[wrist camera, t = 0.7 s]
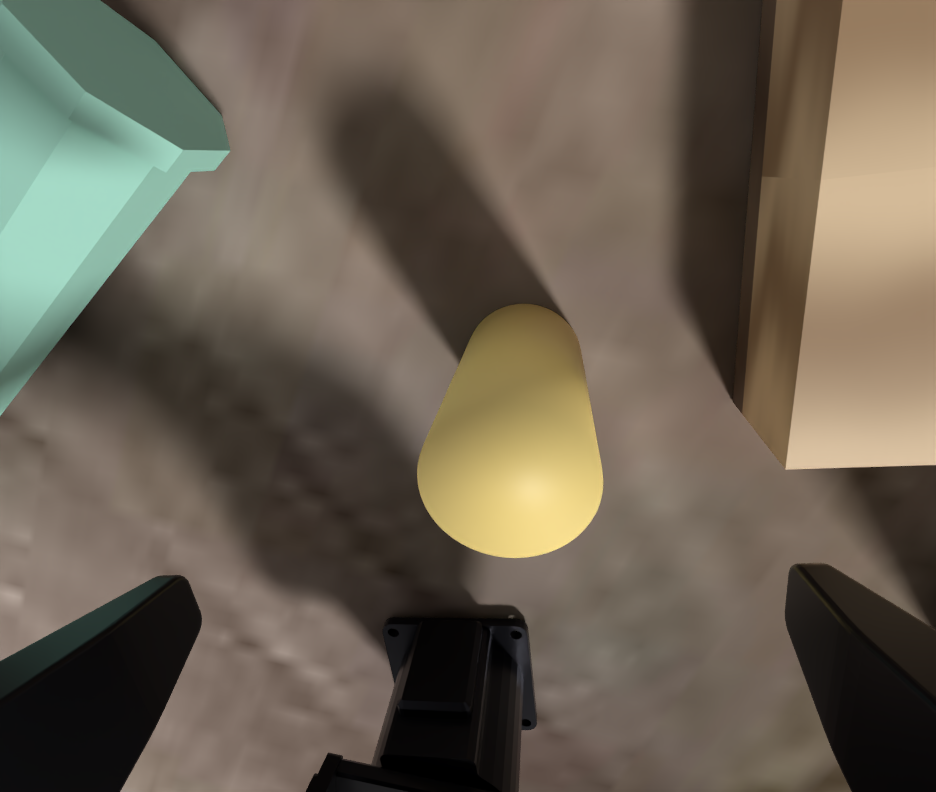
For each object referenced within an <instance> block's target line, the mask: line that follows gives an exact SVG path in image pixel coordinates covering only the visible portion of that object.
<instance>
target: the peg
mask: <svg viewBox="0 0 936 792" xmlns="http://www.w3.org/2000/svg"><path fill="white" fill-rule="evenodd" d="M417 480H418V488H419V491H420V495H421V498H422V500H423V503H424V505H425V507H426V509H427V511H428V512H429V514H430V516H431V517H432V518H433V520H434V521H435V522H436V523H437V524H438V525H439V526H440V528H441V529H442V530H443V531H445V532H446V533H447V534H448V535H449V536H451V537H452V538H453V539H455V540H456V541H458V542H460V543H461V544H463V545H465V546H467V547H469V548H471V549H473V550H476V551H479V552H481V553H485V554H489V555H492V556H499V557H507V558H523V557H532V556H538V555H541V554H545V553H549V552H551V551H554V550H556V549H558V548H560V547H562V546H564V545H566V544H567V543H569V542H570V541H572V540H573V539H575V538H576V537H577V536H578V535H579V534H580V533H581V532H582V531H583V530H584V529H585V528H586V527H587V526H588V525H589V523H590V522H591V521H592V519H593V517H594V515H595V514H596V512H597V509H598V507H599V504H600V502H601V497H602V492H603V474H602V466H601V461H600V455H599V450H598V444H597V438H596V433H595V427H594V422H593V416H592V410H591V405H590V399H589V393H588V388H587V382H586V377H585V371H584V365H583V360H582V354H581V349H580V345H579V341H578V339H577V336H576V334H575V333H574V331H573V329H572V328H571V326H570V325H569V324H568V323H567V322H566V321H565V320H564V319H563V318H562V317H561V316H559V315H558V314H557V313H555V312H553V311H551V310H550V309H547V308H545V307H542V306H538V305H533V304H515V305H509V306H506V307H503V308H500V309H498V310H496V311H494V312H493V313H491V314H489V315H488V316H487V317H486V318H484V319H483V320H482V321H481V322H480V324H479V325H478V326H477V327H476V329H475V330H474V332H473V334H472V336H471V338H470V340H469V343H468V345H467V347H466V349H465V352H464V354H463V356H462V358H461V361H460V363H459V365H458V368H457V370H456V372H455V374H454V377H453V379H452V381H451V383H450V386H449V388H448V390H447V393H446V395H445V397H444V399H443V402H442V404H441V406H440V408H439V411H438V413H437V415H436V417H435V420H434V422H433V424H432V427H431V429H430V431H429V433H428V436H427V438H426V440H425V442H424V445H423V447H422V450H421V453H420V455H419V461H418V466H417Z"/></svg>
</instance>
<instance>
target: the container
mask: <svg viewBox="0 0 936 792" xmlns="http://www.w3.org/2000/svg"><path fill="white" fill-rule="evenodd" d="M229 152H230V147H229V143H228V139H227V135H226V131H225V127H224V123H223V119H222V115H221V114H220V113H219V112H218V111H217V110H216V109H215V107H214V106H213V105H212V104H211V103H210V102H209V101H208V100H207V98H206V97H205V96H204V95H203V94H202V93H201V92H200V91H199V89H198V88H197V87H196V86H195V85H194V84H193V83H192V82H191V81H190V79H189V78H188V77H187V76H186V75H185V74H184V73H183V72H182V70H181V69H180V68H179V67H178V66H177V65H176V64H175V63H174V61H173V60H172V59H171V58H170V57H169V56H168V55H167V54H166V53H165V51H164V50H163V49H162V48H161V47H160V46H159V45H158V44H157V42H156V41H155V40H153V39H152V38H151V37H149V36H148V35H147V34H145V33H144V32H143V31H141V30H140V29H138V28H137V27H136V26H134V25H133V24H132V23H130V22H129V21H128V20H126V19H125V18H124V17H122V16H121V15H119V14H118V13H117V12H115V11H114V10H113V9H111V8H110V7H109V6H107V5H106V4H104V3H103V2H102V1H100V0H0V415H1V414H2V413H3V412H4V410H5V409H6V408H7V406H8V405H9V404H10V403H11V401H12V400H13V399H14V397H15V396H16V395H17V394H18V392H19V391H20V390H21V389H22V387H23V386H24V385H25V383H26V382H27V381H28V380H29V378H30V377H31V376H32V374H33V373H34V372H35V371H36V369H37V368H38V367H39V365H40V364H41V363H42V362H43V360H44V359H45V358H46V356H47V355H48V354H49V353H50V351H51V350H52V349H53V348H54V346H55V345H56V344H57V342H58V341H59V340H60V339H61V337H62V336H63V335H64V333H65V332H66V331H67V330H68V328H69V327H70V326H71V324H72V323H73V322H74V321H75V319H76V318H77V317H78V316H79V314H80V313H81V312H82V310H83V309H84V308H85V307H86V305H87V304H88V303H89V301H90V300H91V299H92V298H93V296H94V295H95V294H96V292H97V291H98V290H99V289H100V287H101V286H102V285H103V283H104V282H105V281H106V280H107V278H108V277H109V276H110V275H111V273H112V272H113V271H114V269H115V268H116V267H117V266H118V264H119V263H120V262H121V260H122V259H123V258H124V257H125V255H126V254H127V253H128V251H129V250H130V249H131V248H132V246H133V245H134V244H135V243H136V241H137V240H138V239H139V237H140V236H141V235H142V234H143V232H144V231H145V230H146V228H147V227H148V226H149V225H150V223H151V222H152V221H153V219H154V218H155V217H156V216H157V214H158V213H159V212H160V210H161V209H162V208H163V207H164V205H165V204H166V203H167V202H168V200H169V199H170V198H171V196H172V195H173V194H174V193H175V191H176V190H177V189H178V187H179V186H180V185H181V184H182V182H183V181H184V180H185V178H186V177H187V176H188V175H189V173H190V172H198V171H215V169H216V168H217V167H218V166H219V164H220V163H221V162H222V161H223V159H224V158H225V157H226V156H227V154H228V153H229Z"/></svg>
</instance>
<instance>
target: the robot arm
mask: <svg viewBox="0 0 936 792" xmlns="http://www.w3.org/2000/svg"><path fill="white" fill-rule="evenodd" d="M785 621H786V626H787V630H788V633H789V635H790V638H791V641H792V644H793V646H794V649H795V652H796V654H797V657H798V660H799V663H800V665H801V668H802V671H803V674H804V676H805V679H806V682H807V684H808V687H809V690H810V693H811V695H812V698H813V701H814V704H815V706H816V709H817V712H818V714H819V717H820V720H821V723H822V725H823V728H824V731H825V733H826V736H827V738H828V741H829V743H830V746H831V749H832V751H833V753H834V755H835V757H836V760H837V762H838V764H839V766H840V768H841V771H842V773H843V775H844V777H845V779H846V781H847V783H848V785H849V787H850V789H851V791H852V792H936V629H934V628H932V627H931V626H929V625H927V624H926V623H924V622H922V621H921V620H919V619H917V618H916V617H914V616H913V615H911V614H909V613H908V612H906V611H904V610H903V609H901V608H899V607H898V606H896V605H894V604H893V603H891V602H890V601H888V600H886V599H885V598H883V597H881V596H880V595H878V594H876V593H875V592H873V591H871V590H870V589H868V588H866V587H865V586H863V585H862V584H860V583H858V582H857V581H855V580H853V579H852V578H850V577H848V576H847V575H845V574H843V573H842V572H840V571H839V570H837V569H835V568H834V567H832V566H830V565H828V564H824V563H801V564H795V565H793V566H792V567H791V568H790V571H789V575H788V585H787V595H786V605H785ZM201 624H202V616H201V612H200V609H199V607H198V604H197V602H196V599H195V597H194V594H193V591H192V589H191V586H190V584H189V582H188V580H187V579H186V578H185V577H184V576H181V575H163V576H157V577H155V578H153V579H151V580H149V581H147V582H145V583H143V584H142V585H140V586H138V587H136V588H134V589H132V590H130V591H129V592H127V593H125V594H123V595H121V596H119V597H118V598H116V599H114V600H112V601H110V602H108V603H107V604H105V605H103V606H101V607H99V608H97V609H96V610H94V611H92V612H90V613H88V614H86V615H84V616H83V617H81V618H79V619H77V620H75V621H73V622H72V623H70V624H68V625H66V626H64V627H62V628H61V629H59V630H57V631H55V632H53V633H51V634H49V635H48V636H46V637H44V638H42V639H40V640H38V641H37V642H35V643H33V644H31V645H29V646H27V647H26V648H24V649H22V650H20V651H18V652H16V653H15V654H13V655H11V656H9V657H7V658H5V659H3V660H2V661H0V792H120V791H121V789H122V787H123V786H124V784H125V782H126V780H127V778H128V777H129V775H130V773H131V771H132V769H133V768H134V766H135V764H136V762H137V760H138V759H139V757H140V755H141V753H142V751H143V750H144V748H145V746H146V744H147V742H148V741H149V739H150V737H151V735H152V733H153V731H154V729H155V727H156V725H157V723H158V721H159V719H160V717H161V715H162V713H163V711H164V709H165V706H166V704H167V702H168V700H169V698H170V695H171V693H172V691H173V689H174V687H175V684H176V682H177V680H178V678H179V676H180V673H181V671H182V669H183V667H184V665H185V662H186V660H187V658H188V656H189V654H190V651H191V649H192V647H193V645H194V643H195V640H196V638H197V636H198V634H199V631H200V628H201ZM392 628H393V629H392ZM394 629H396V630H394ZM514 631H519V632H514ZM383 636H384V640H385V644H386V649H387V653H388V657H389V661H390V665H391V670H392V674H393V678H394V682H395V685H394V689H393V692H392V696H391V699H390V702H389V706H388V709H387V713H386V716H385V720H384V723H383V726H382V730H381V733H380V737H379V740H378V743H377V747H376V750H375V754H374V757H373V760H372V764H371V765H370V764H365V763H361V762H356V761H351V760H347V759H343V756H342V755H337V754H333V753H328V754H327V756H326V758H325V760H324V762H323V764H322V766H321V768H320V770H319V773H318V774H316V773H315V774H314V776H313V778H312V780H311V781H310V784H309V786H308V788H307V790H306V792H519V771H520V750H521V730H531V729H534V728H535V727H536V724H537V713H536V703H535V693H534V683H533V673H532V663H531V653H530V643H529V633H528V627H527V624H526V623H525V622H523V621H521V620H518V619H473V618H402V617H393V618H389V619H387V620H386V622H385V624H384V627H383Z"/></svg>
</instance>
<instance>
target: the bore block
mask: <svg viewBox="0 0 936 792" xmlns="http://www.w3.org/2000/svg"><path fill="white" fill-rule="evenodd" d="M733 403H734V404H735V405H736V407H737V408H738V409H739V410H740V412H741V413H742V414H743V416H744V417H745V418H746V419H747V421H748V422H749V423H750V425H751V426H752V427H753V428H754V430H755V431H756V432H757V434H758V435H759V436H760V437H761V439H762V440H763V441H764V442H765V444H766V445H767V446H768V448H769V449H770V450H771V451H772V453H773V454H774V455H775V457H776V458H777V459H778V460H779V462H780V463H781V464H782V466H783V467H784V468H785V469H817V468H850V467H883V466H915V465H936V0H763V3H762V16H761V29H760V43H759V56H758V69H757V82H756V96H755V109H754V122H753V136H752V149H751V162H750V176H749V189H748V202H747V216H746V229H745V242H744V256H743V269H742V282H741V296H740V309H739V322H738V336H737V349H736V362H735V376H734V389H733Z"/></svg>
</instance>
